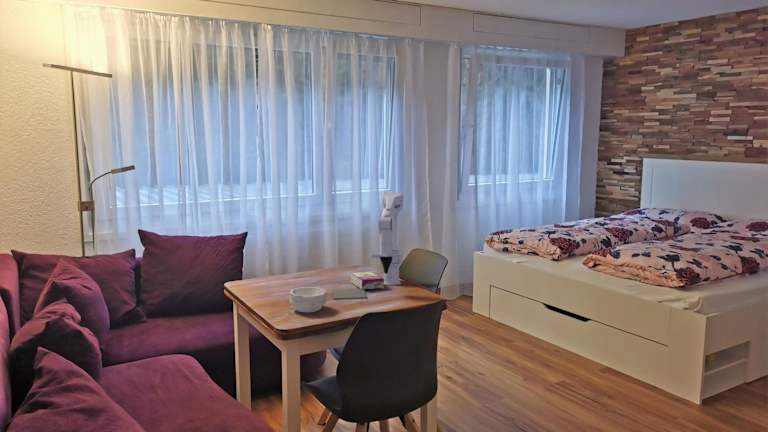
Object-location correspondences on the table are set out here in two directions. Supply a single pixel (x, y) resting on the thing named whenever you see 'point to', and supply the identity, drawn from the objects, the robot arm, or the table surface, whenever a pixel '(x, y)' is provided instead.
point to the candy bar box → (367, 280)
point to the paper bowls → (308, 299)
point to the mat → (349, 294)
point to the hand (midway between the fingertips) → (386, 273)
